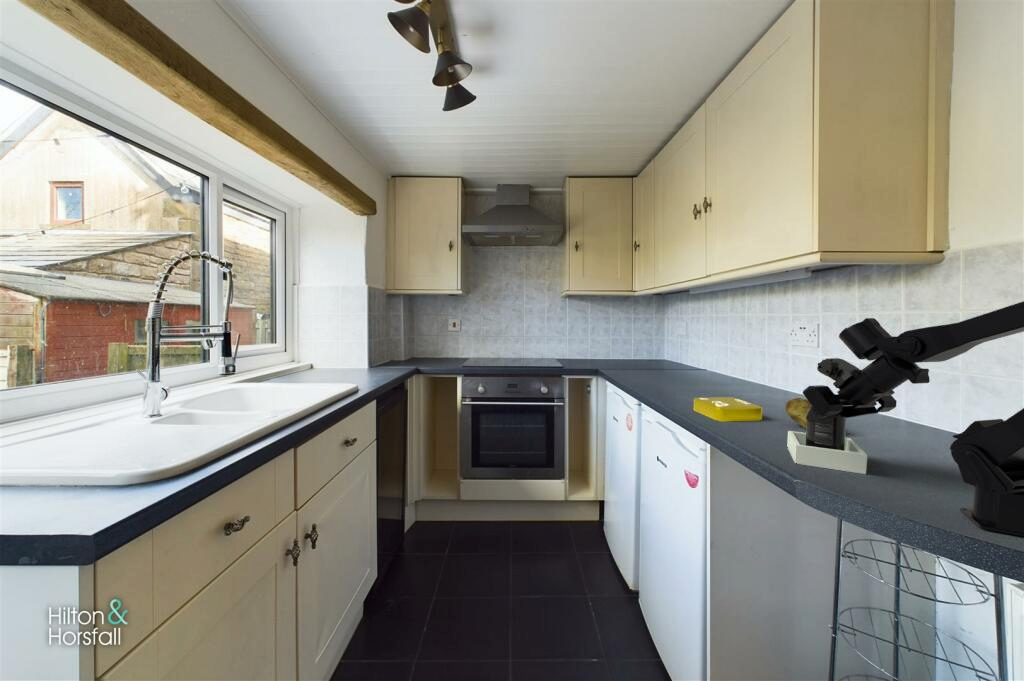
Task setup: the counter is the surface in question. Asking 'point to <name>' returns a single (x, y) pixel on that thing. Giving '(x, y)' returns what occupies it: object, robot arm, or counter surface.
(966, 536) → the counter surface
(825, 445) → the supplement bottle
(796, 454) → the sage tray
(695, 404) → the element tile
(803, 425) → the potato
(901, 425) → the counter surface
